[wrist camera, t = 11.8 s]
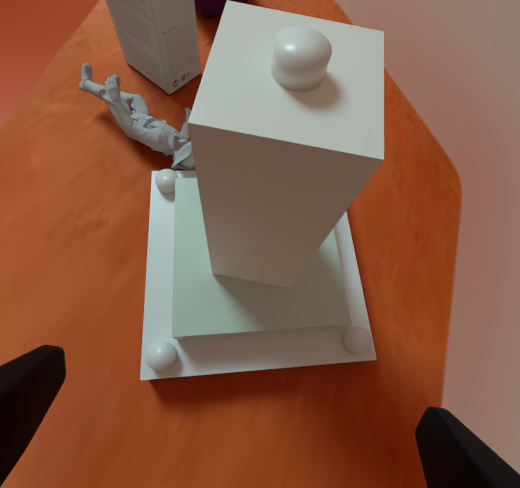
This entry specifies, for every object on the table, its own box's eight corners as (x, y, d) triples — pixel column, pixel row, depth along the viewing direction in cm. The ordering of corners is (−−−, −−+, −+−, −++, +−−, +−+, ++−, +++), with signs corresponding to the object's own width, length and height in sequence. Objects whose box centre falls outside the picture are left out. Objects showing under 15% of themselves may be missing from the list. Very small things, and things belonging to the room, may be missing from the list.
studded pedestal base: (363, 360, 21) (392, 358, 17) (148, 379, 19) (129, 381, 16) (329, 183, 26) (346, 152, 23) (157, 186, 25) (145, 153, 21)
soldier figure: (147, 86, 30) (242, 118, 24) (137, 137, 31) (225, 178, 26) (58, 52, 23) (162, 85, 18) (51, 119, 25) (145, 168, 19)
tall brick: (289, 287, 18) (398, 139, 7) (212, 274, 18) (183, 98, 6) (298, 218, 20) (395, 5, 8) (227, 205, 20) (226, -29, 8)
